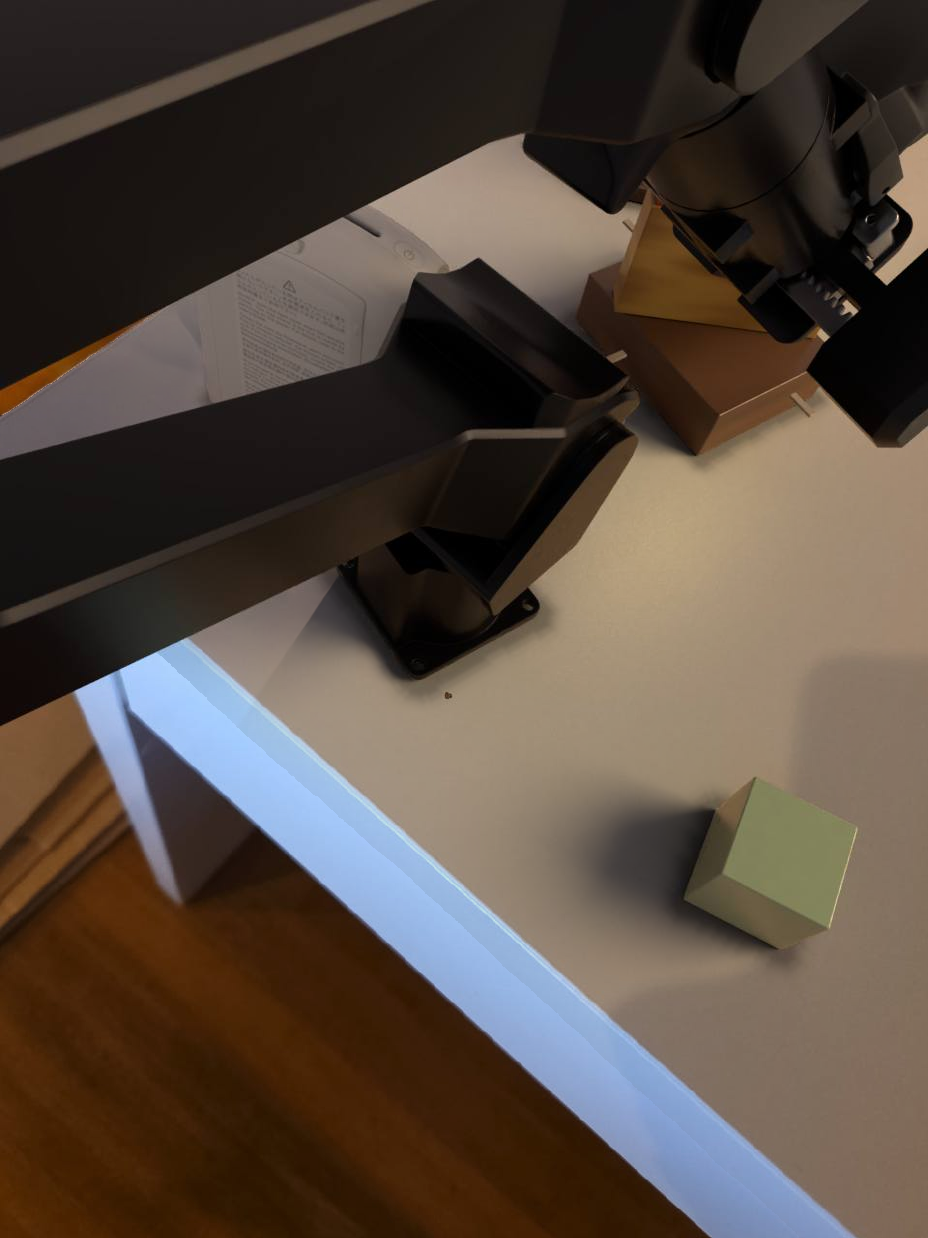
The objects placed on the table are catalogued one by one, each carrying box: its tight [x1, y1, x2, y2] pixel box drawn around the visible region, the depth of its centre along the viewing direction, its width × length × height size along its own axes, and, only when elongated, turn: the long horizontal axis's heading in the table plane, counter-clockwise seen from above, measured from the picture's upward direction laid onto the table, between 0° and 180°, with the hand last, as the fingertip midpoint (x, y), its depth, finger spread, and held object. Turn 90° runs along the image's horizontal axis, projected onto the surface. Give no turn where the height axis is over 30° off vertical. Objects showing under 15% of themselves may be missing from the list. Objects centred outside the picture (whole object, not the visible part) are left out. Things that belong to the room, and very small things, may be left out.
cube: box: [683, 776, 859, 950], centre depth 36 cm, size 4×4×4 cm
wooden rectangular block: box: [613, 189, 822, 338], centre depth 45 cm, size 10×2×6 cm, turn 87°
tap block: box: [575, 218, 825, 457], centre depth 49 cm, size 14×14×3 cm
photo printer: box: [194, 204, 451, 404], centre depth 40 cm, size 10×4×12 cm, turn 64°
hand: (817, 286), depth 43 cm, fingers closed
